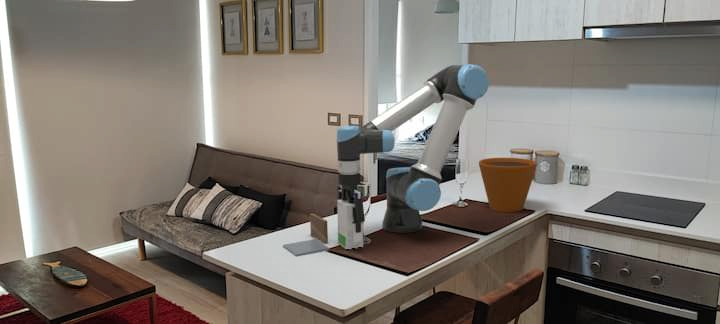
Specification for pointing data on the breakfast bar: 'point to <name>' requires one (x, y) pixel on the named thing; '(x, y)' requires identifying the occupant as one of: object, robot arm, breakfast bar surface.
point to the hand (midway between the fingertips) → (350, 237)
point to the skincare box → (347, 225)
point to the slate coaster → (306, 247)
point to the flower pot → (507, 182)
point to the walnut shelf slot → (319, 228)
